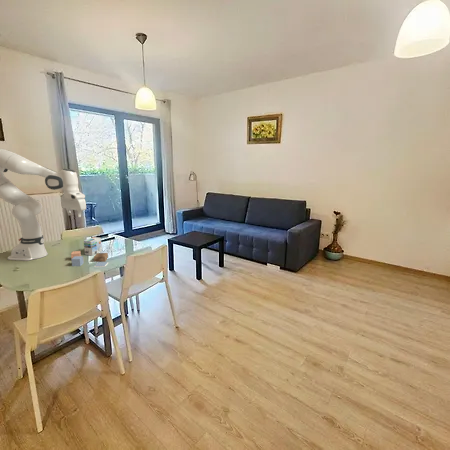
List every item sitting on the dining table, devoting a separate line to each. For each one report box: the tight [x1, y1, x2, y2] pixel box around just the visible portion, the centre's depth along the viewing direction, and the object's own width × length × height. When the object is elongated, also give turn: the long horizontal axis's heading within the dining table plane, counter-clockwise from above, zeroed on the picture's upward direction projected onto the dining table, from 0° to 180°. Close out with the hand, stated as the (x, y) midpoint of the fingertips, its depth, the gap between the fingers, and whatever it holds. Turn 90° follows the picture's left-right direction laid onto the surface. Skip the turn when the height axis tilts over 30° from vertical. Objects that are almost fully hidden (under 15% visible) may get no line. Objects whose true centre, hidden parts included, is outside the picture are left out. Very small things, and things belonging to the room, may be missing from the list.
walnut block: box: [93, 252, 109, 263], centre depth 175 cm, size 7×7×4 cm
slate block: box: [71, 255, 85, 267], centre depth 166 cm, size 5×5×5 cm
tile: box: [93, 261, 109, 268], centre depth 167 cm, size 7×7×1 cm
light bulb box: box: [83, 236, 103, 257], centre depth 187 cm, size 11×7×11 cm, turn 168°
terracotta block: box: [70, 250, 82, 259], centre depth 175 cm, size 5×5×5 cm
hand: (74, 216), depth 165 cm, fingers open, 8 cm apart
